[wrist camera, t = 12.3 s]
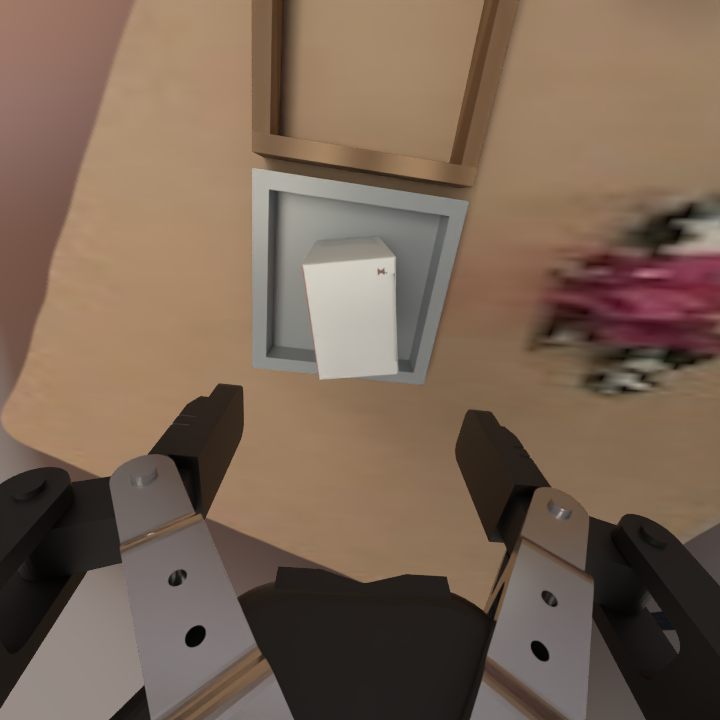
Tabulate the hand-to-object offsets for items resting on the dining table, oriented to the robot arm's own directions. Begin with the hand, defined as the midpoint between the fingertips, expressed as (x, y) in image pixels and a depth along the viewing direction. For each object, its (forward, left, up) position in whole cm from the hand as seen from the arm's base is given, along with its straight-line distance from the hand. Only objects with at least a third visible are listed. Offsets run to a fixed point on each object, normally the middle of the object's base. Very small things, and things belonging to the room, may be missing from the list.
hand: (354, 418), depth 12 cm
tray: (0, 0, -21) cm, 21 cm away
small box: (0, 0, -21) cm, 21 cm away
